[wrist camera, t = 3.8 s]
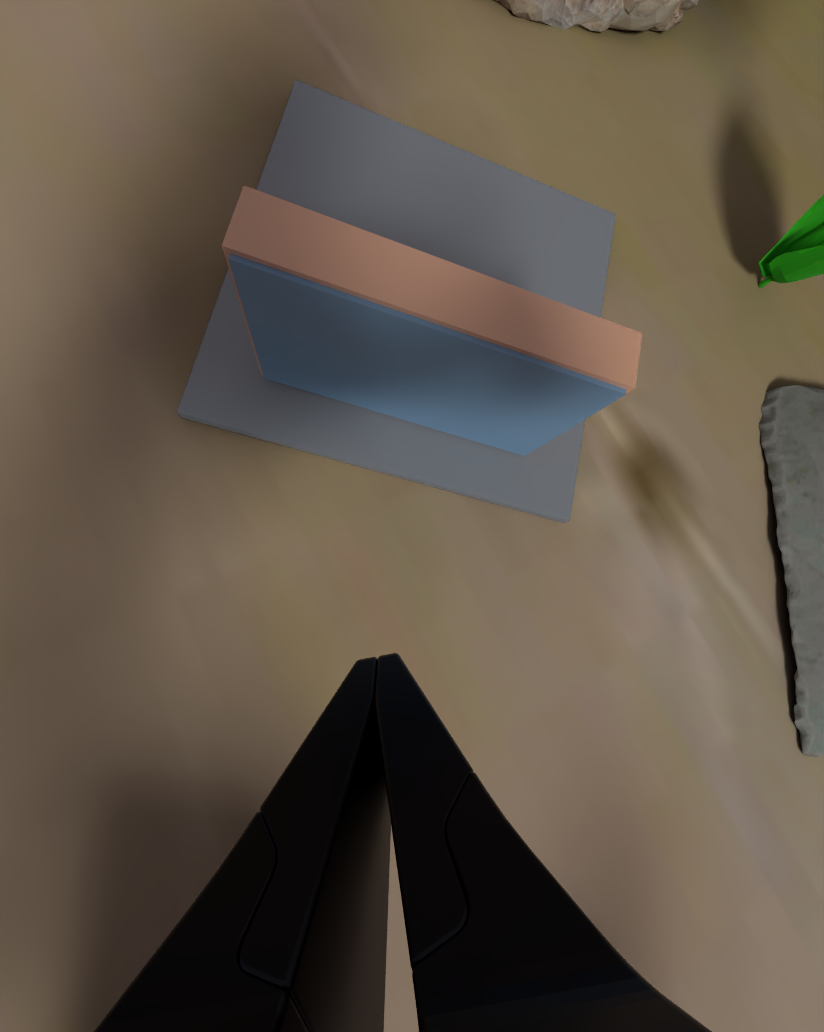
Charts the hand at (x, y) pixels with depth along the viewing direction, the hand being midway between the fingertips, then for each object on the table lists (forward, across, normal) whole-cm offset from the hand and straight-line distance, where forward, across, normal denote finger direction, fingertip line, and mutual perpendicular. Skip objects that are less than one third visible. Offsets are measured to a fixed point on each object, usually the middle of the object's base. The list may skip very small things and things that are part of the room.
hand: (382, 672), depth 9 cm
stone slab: (+15, -27, +11) cm, 33 cm away
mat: (+19, -4, -8) cm, 21 cm away
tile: (+15, -2, -4) cm, 16 cm away
